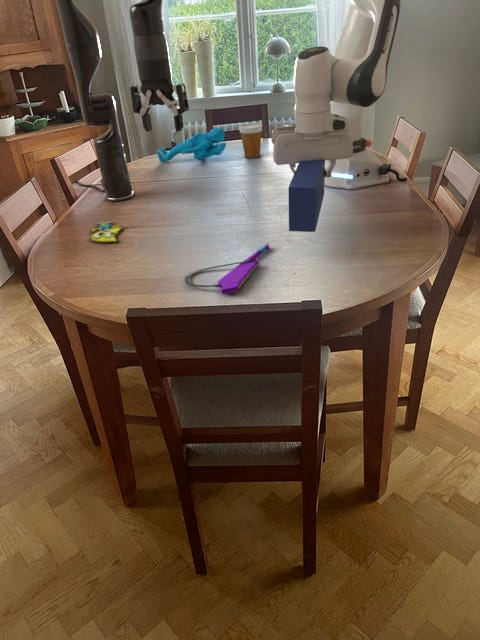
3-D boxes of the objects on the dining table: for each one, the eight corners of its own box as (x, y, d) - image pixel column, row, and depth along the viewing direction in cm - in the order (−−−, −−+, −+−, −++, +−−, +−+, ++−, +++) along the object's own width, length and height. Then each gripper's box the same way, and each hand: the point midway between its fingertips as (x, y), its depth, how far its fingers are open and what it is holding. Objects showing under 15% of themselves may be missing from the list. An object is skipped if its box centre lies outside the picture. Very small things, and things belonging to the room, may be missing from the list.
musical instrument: (182, 302, 106) (271, 286, 103) (179, 293, 105) (270, 277, 102) (195, 260, 127) (269, 246, 124) (193, 253, 126) (268, 239, 123)
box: (301, 194, 132) (302, 155, 127) (324, 194, 131) (325, 155, 125) (288, 231, 112) (288, 187, 106) (315, 232, 111) (316, 187, 105)
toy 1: (127, 219, 147) (117, 239, 134) (127, 222, 147) (117, 242, 135) (94, 222, 147) (81, 242, 135) (94, 225, 148) (82, 245, 135)
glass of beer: (264, 157, 198) (262, 127, 191) (241, 159, 198) (238, 129, 192) (263, 152, 206) (261, 122, 199) (241, 153, 206) (239, 124, 200)
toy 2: (164, 141, 211) (226, 121, 200) (173, 164, 216) (234, 146, 206) (150, 151, 197) (216, 130, 187) (160, 176, 202) (225, 157, 192)
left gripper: (117, 60, 110) (131, 134, 119) (172, 57, 105) (182, 134, 114) (134, 56, 116) (147, 127, 124) (187, 53, 111) (196, 127, 120)
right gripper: (272, 129, 116) (274, 185, 124) (356, 121, 116) (353, 178, 124) (269, 124, 122) (272, 178, 129) (349, 116, 122) (347, 171, 129)
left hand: (164, 131), depth 119 cm, fingers open, 8 cm apart
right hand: (312, 178), depth 126 cm, fingers closed on box, 7 cm apart
